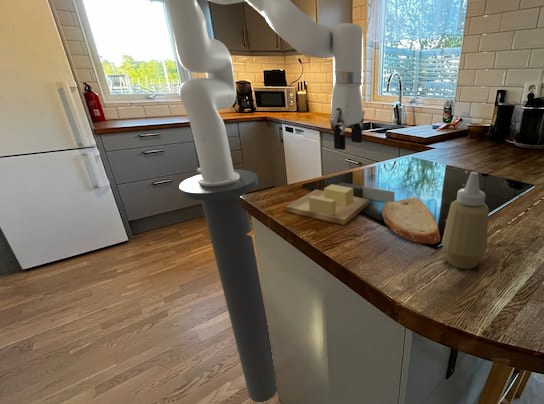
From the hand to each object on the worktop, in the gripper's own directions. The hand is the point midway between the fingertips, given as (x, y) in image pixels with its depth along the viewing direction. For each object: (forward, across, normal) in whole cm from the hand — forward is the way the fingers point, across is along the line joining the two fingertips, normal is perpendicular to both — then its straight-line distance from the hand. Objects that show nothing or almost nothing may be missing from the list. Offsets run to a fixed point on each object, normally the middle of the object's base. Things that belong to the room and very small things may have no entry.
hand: (348, 145), depth 83 cm
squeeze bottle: (+15, +20, +36) cm, 44 cm away
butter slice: (+14, +16, +1) cm, 21 cm away
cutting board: (+15, +10, -1) cm, 18 cm away
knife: (+15, -1, +5) cm, 16 cm away
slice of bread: (+15, +8, +22) cm, 28 cm away
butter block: (+14, +8, +1) cm, 16 cm away
